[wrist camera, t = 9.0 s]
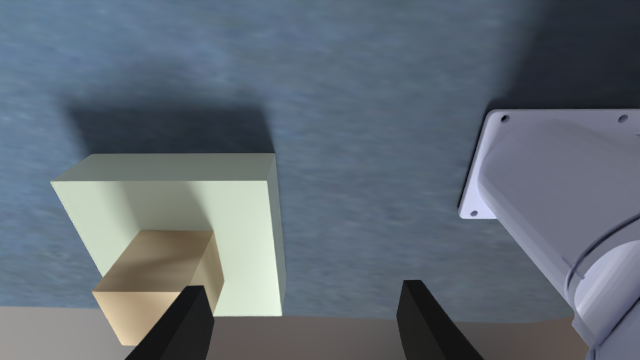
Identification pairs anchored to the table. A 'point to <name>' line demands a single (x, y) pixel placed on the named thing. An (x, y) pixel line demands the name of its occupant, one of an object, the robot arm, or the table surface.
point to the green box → (187, 215)
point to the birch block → (157, 279)
